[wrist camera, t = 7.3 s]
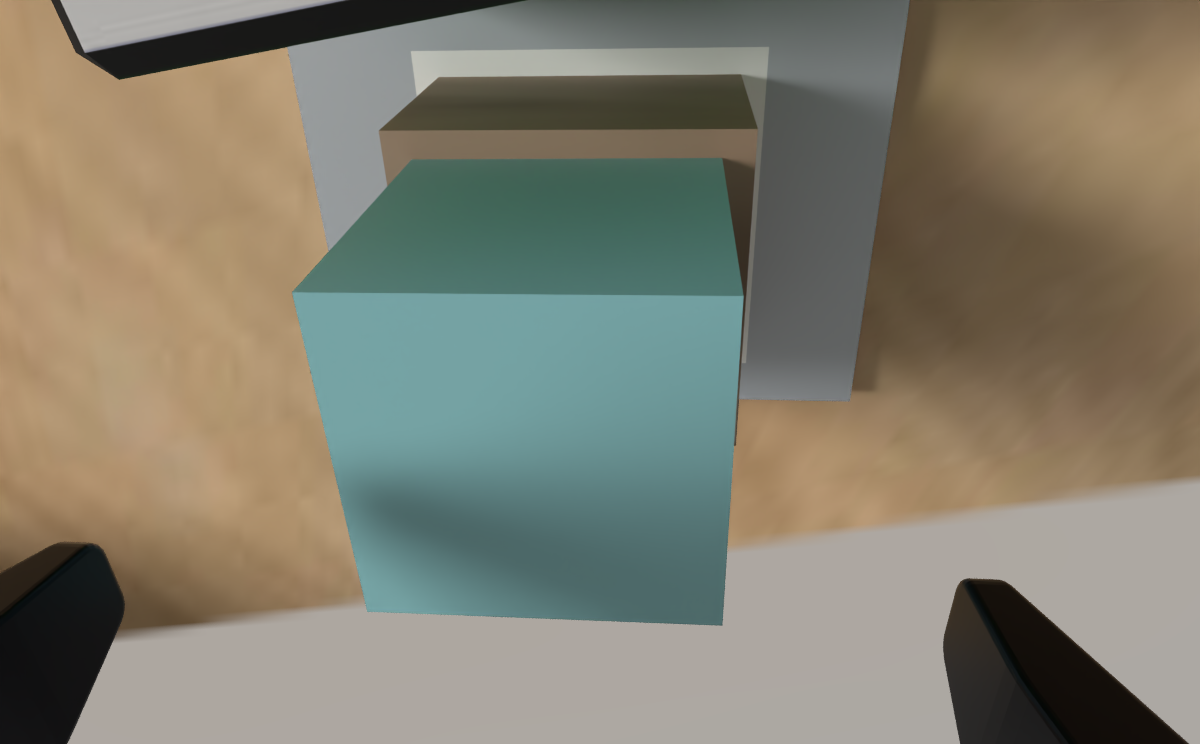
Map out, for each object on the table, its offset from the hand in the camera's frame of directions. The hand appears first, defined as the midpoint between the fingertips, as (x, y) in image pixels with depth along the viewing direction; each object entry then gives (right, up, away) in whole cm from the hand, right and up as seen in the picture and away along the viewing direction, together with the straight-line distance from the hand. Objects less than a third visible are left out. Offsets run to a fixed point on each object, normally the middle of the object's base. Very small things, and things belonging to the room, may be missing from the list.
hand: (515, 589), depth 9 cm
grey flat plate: (+1, +6, +10) cm, 12 cm away
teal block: (0, +4, +6) cm, 7 cm away
